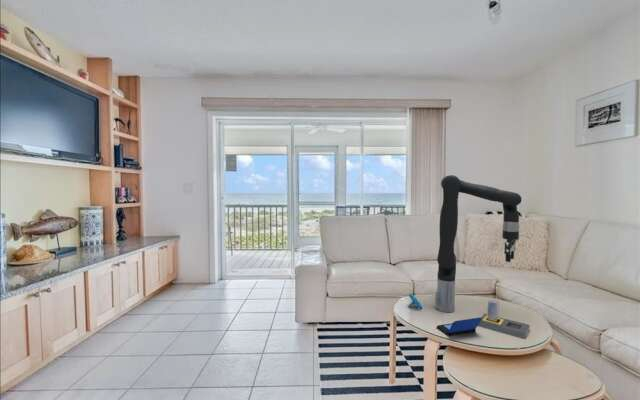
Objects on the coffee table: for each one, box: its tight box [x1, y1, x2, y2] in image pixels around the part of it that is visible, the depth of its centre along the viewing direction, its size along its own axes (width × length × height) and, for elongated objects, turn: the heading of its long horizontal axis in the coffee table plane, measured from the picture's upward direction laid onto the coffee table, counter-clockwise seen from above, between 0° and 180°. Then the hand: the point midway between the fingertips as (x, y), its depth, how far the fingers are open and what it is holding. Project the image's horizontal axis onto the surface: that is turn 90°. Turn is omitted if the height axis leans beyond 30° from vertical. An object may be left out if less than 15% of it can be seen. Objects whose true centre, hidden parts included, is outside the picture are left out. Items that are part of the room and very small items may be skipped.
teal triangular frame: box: [408, 293, 423, 310], centre depth 179 cm, size 11×6×10 cm
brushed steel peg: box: [487, 299, 500, 323], centre depth 156 cm, size 4×4×12 cm
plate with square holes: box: [477, 313, 531, 340], centre depth 154 cm, size 20×12×3 cm, turn 48°
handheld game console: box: [436, 316, 482, 337], centre depth 149 cm, size 16×13×9 cm
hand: (509, 260), depth 167 cm, fingers open, 8 cm apart
